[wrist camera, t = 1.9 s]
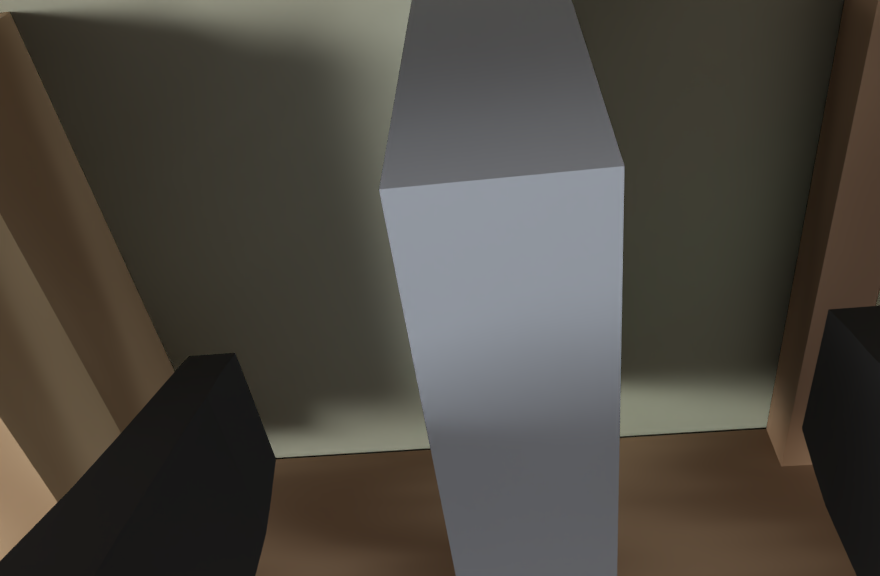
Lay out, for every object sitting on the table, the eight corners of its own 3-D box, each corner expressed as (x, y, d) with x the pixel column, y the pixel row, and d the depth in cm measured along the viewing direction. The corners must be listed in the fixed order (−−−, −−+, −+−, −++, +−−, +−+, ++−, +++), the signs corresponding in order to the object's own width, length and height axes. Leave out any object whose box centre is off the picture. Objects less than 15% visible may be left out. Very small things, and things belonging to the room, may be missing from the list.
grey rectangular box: (472, 376, 16) (474, 669, 11) (416, -27, 11) (378, 189, 7) (571, 370, 16) (615, 664, 11) (557, -45, 11) (624, 165, 6)
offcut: (92, 428, 18) (-3, 620, 14) (-140, 28, 12) (-391, 175, 9) (201, 420, 17) (133, 614, 14) (14, 8, 12) (-180, 151, 8)
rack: (105, 498, 19) (9, 718, 15) (-304, -178, 10) (-783, -86, 6) (808, 457, 17) (910, 690, 13) (1006, -382, 9) (1454, -429, 5)
